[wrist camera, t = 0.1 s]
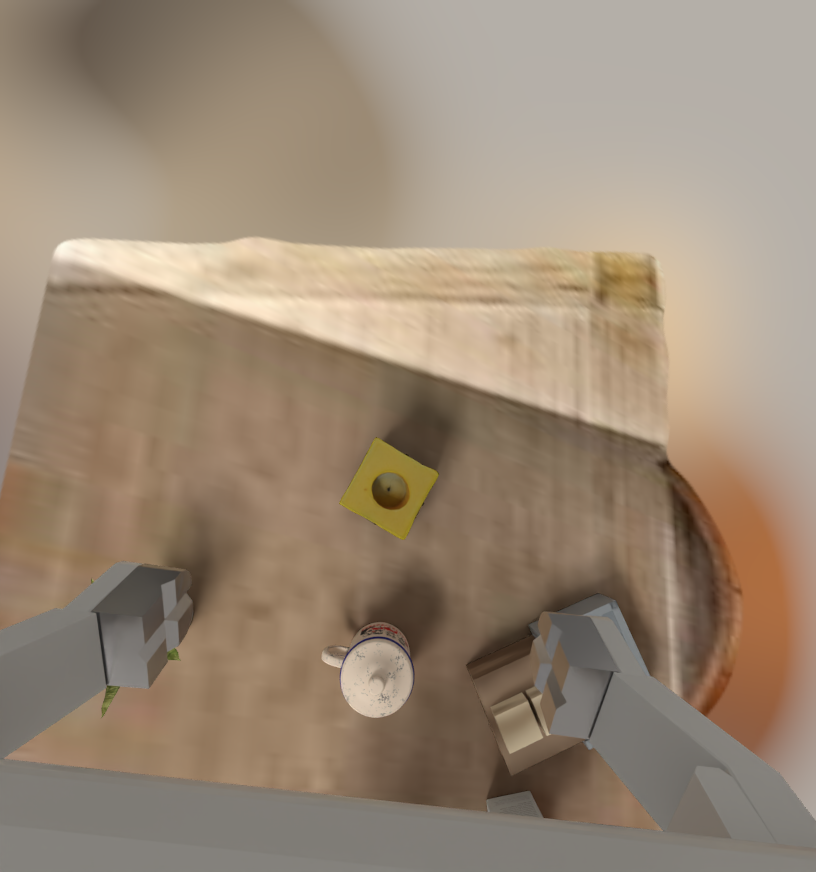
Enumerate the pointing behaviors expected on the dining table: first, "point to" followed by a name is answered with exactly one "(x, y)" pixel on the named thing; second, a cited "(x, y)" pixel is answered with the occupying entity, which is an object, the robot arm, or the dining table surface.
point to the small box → (515, 805)
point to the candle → (389, 488)
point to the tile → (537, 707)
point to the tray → (602, 608)
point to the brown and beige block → (502, 681)
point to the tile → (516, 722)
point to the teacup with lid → (374, 669)
